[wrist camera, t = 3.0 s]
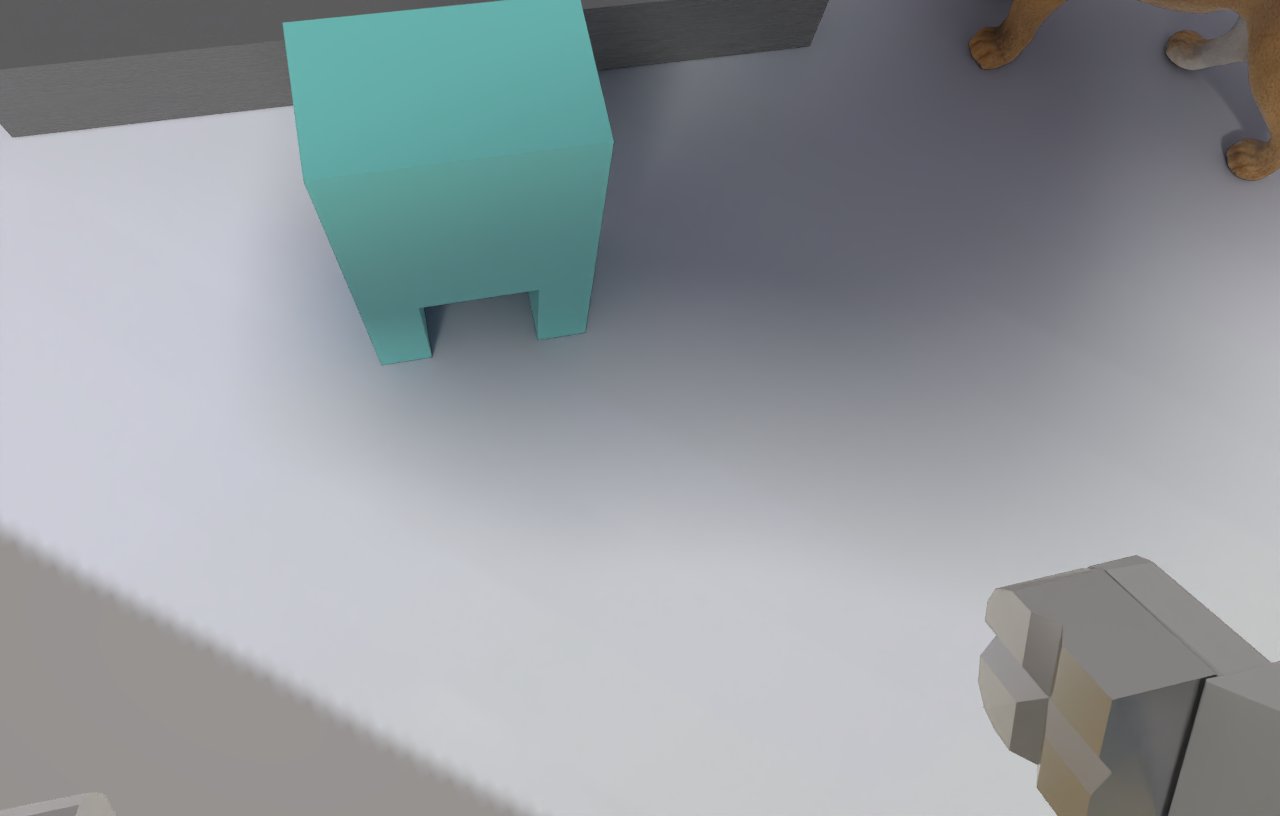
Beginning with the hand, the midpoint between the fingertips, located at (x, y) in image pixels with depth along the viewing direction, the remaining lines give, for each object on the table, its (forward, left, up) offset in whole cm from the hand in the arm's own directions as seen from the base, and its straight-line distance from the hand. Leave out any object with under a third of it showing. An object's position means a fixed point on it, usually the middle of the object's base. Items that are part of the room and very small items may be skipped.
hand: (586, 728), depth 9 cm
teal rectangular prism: (0, -10, -13) cm, 17 cm away
